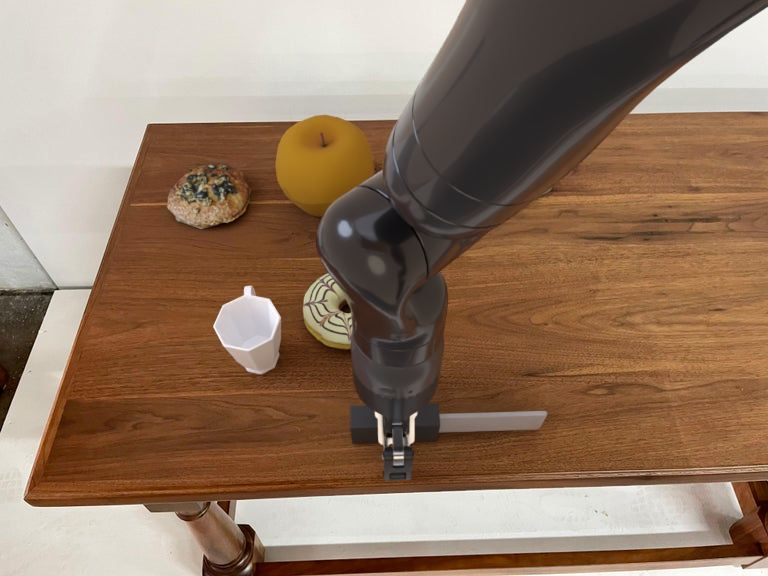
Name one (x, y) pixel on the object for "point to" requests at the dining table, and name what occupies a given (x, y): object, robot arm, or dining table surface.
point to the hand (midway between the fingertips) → (393, 426)
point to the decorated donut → (327, 313)
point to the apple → (322, 161)
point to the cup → (250, 331)
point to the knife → (443, 422)
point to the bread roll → (209, 196)
